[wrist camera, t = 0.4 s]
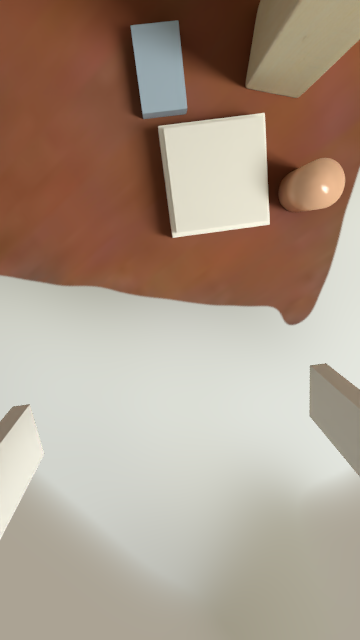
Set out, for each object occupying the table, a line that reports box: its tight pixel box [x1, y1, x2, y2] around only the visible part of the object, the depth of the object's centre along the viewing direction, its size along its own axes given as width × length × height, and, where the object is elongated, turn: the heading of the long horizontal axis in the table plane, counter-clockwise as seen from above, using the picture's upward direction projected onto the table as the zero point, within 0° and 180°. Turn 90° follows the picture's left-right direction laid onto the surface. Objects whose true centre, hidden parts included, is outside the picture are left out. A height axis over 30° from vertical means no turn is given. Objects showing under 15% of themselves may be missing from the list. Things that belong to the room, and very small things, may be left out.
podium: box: [158, 113, 270, 238], centre depth 36 cm, size 12×12×3 cm
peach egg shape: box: [278, 158, 345, 213], centre depth 35 cm, size 5×5×6 cm
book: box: [130, 20, 187, 119], centre depth 33 cm, size 8×5×2 cm, turn 7°
